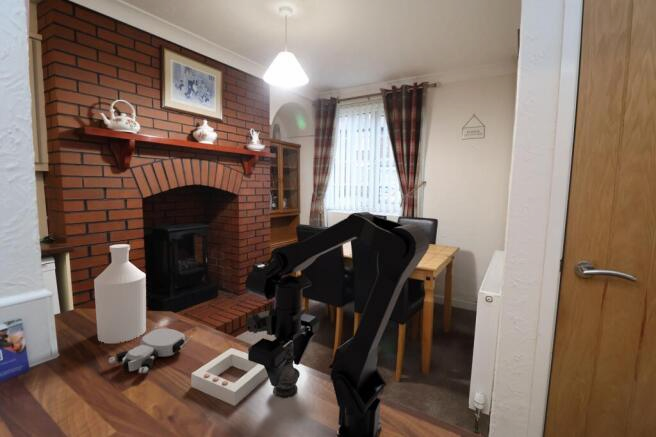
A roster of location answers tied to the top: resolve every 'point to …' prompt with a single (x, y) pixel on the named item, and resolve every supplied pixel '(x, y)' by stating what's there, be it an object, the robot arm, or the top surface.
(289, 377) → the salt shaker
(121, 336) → the bottle
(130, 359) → the robot toy
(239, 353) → the socket block
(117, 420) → the top surface
